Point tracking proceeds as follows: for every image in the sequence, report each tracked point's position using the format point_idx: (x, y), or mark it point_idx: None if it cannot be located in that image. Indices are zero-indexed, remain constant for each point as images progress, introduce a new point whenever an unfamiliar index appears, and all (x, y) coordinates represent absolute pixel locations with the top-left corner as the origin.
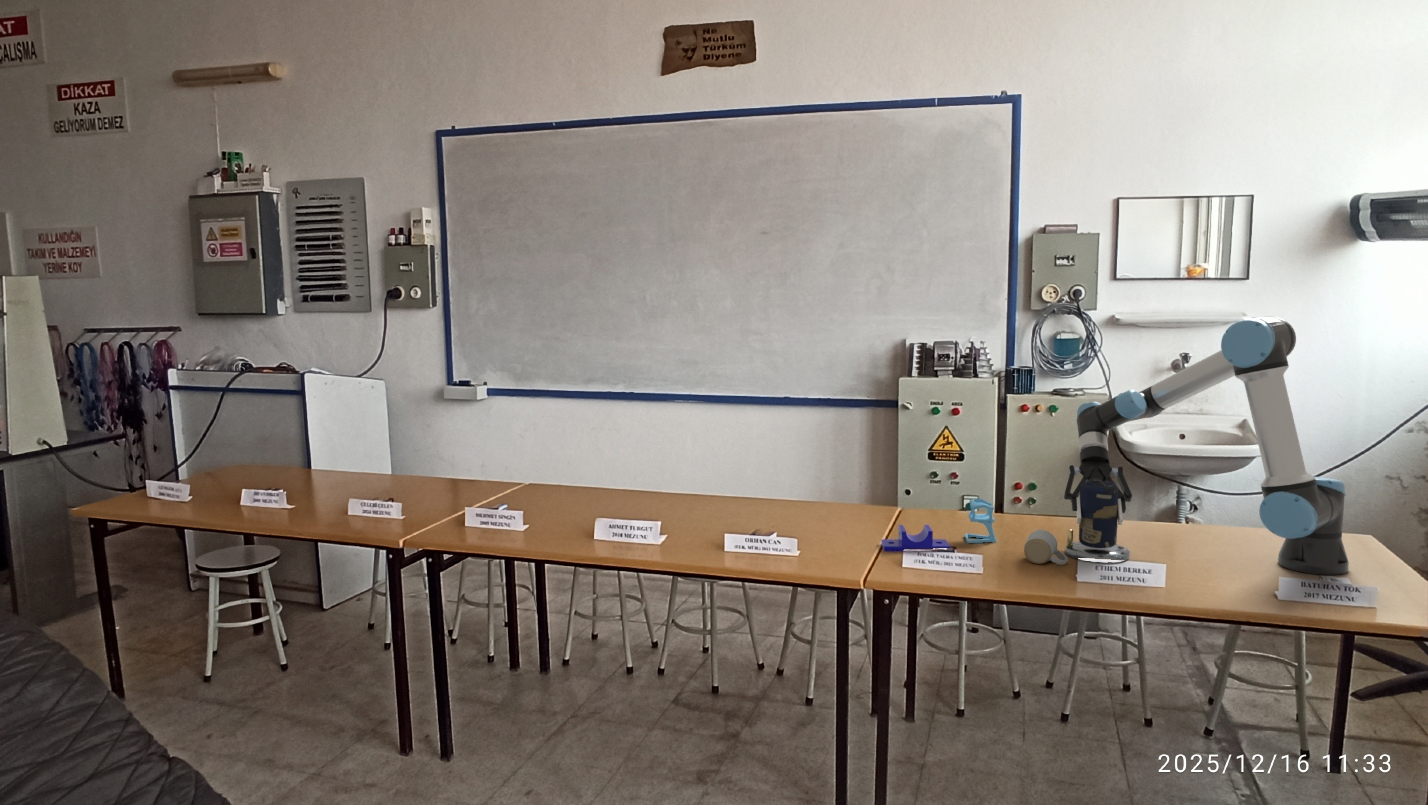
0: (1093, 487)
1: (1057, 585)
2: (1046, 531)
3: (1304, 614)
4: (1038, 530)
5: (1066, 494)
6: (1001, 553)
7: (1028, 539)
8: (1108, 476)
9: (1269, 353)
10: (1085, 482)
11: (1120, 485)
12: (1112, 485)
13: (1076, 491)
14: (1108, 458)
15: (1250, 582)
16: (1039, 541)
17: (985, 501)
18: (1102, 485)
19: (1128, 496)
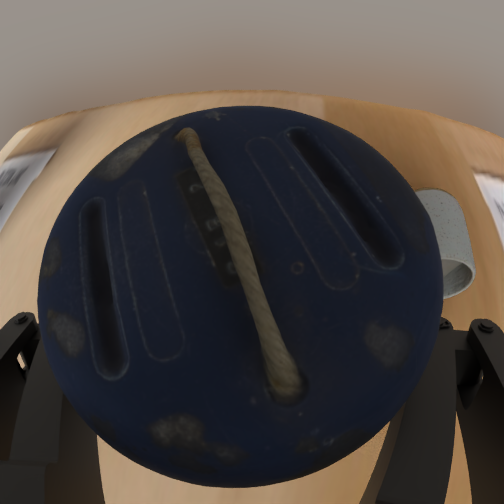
0: (304, 114)
1: (355, 127)
2: (442, 247)
3: (70, 117)
4: (463, 252)
5: (482, 319)
6: (492, 306)
7: (463, 215)
8: (9, 475)
9: None
10: (409, 289)
11: (5, 444)
12: (99, 176)
13: (437, 349)
14: None
15: (36, 204)
16: (435, 188)
17: None
18: (203, 147)
19: (33, 316)
